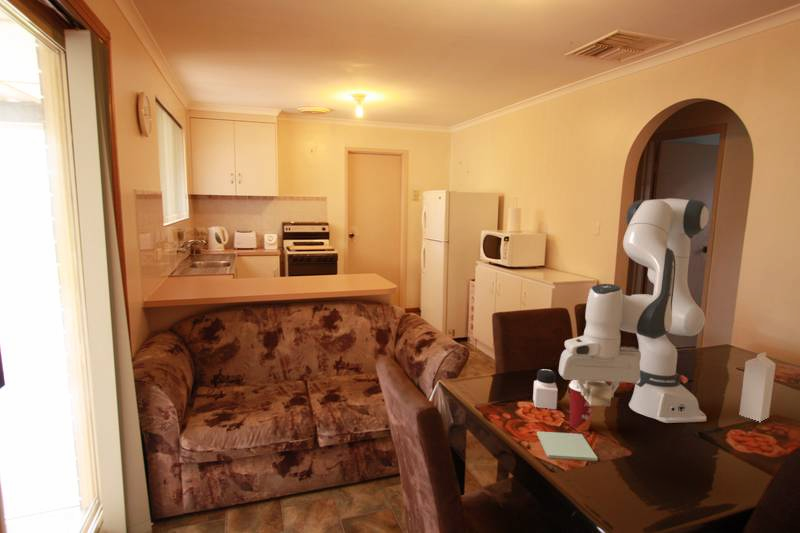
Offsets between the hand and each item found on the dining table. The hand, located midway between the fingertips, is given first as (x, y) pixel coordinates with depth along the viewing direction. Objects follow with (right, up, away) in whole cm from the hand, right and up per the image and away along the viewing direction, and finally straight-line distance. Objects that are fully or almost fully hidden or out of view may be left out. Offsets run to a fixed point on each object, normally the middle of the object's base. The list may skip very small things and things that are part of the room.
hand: (596, 395), depth 117 cm
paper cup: (+3, -15, +19) cm, 25 cm away
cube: (0, -2, 0) cm, 2 cm away
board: (-6, -16, +7) cm, 19 cm away
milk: (+65, -16, +28) cm, 73 cm away
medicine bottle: (-3, -13, +34) cm, 37 cm away
